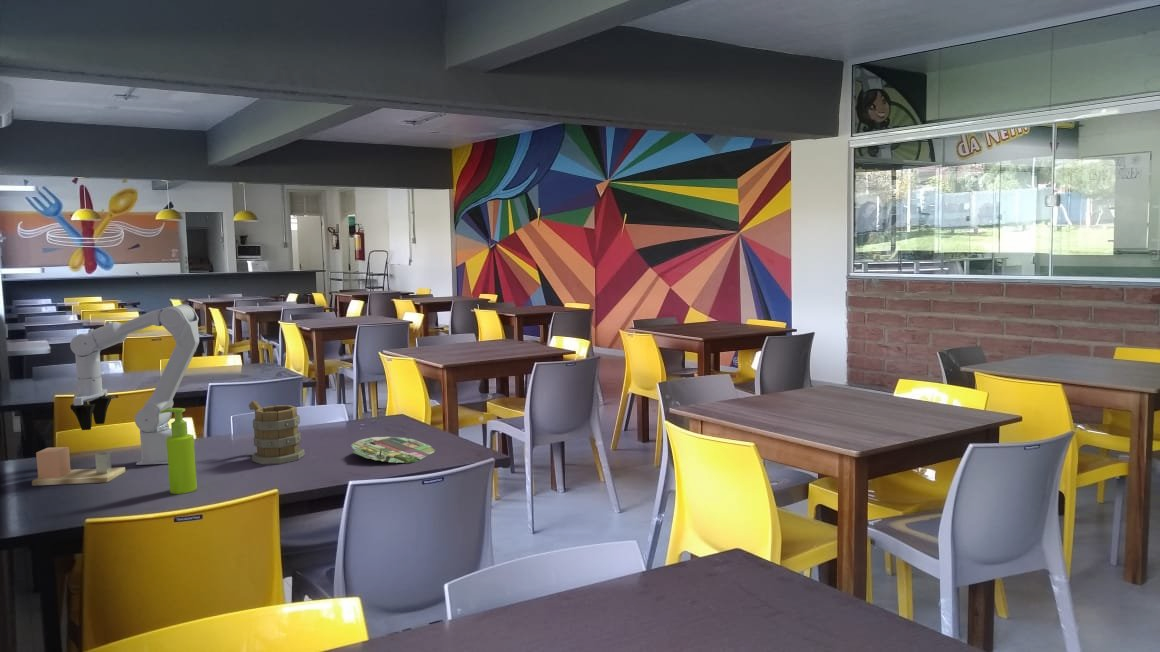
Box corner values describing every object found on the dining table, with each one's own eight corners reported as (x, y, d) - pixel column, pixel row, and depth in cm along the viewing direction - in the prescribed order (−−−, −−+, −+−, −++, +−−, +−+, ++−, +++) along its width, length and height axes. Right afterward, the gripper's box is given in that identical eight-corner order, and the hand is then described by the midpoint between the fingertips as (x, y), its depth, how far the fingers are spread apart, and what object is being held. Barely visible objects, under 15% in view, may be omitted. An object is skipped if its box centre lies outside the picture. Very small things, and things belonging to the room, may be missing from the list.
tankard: (311, 457, 230) (308, 404, 229) (267, 466, 221) (264, 411, 219) (276, 446, 244) (273, 396, 242) (234, 455, 234) (230, 402, 233)
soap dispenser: (171, 487, 203) (165, 406, 201) (200, 486, 204) (195, 405, 202) (161, 494, 197) (155, 411, 195) (191, 493, 198) (185, 410, 196)
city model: (415, 477, 216) (417, 454, 215) (332, 463, 220) (334, 441, 220) (449, 454, 240) (451, 434, 240) (374, 443, 245) (375, 422, 244)
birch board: (125, 471, 219) (125, 467, 219) (107, 482, 209) (107, 477, 209) (53, 474, 218) (53, 470, 218) (32, 485, 208) (31, 480, 208)
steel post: (111, 471, 215) (110, 452, 215) (107, 473, 213) (105, 454, 212) (101, 471, 215) (99, 452, 215) (96, 474, 213) (94, 455, 212)
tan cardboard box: (70, 471, 216) (68, 446, 215) (59, 477, 210) (57, 451, 210) (49, 472, 215) (47, 447, 215) (38, 478, 210) (36, 452, 209)
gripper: (87, 374, 233) (91, 421, 234) (59, 382, 218) (63, 433, 220) (113, 373, 233) (117, 420, 235) (87, 381, 219) (91, 432, 220)
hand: (93, 426), depth 227 cm, fingers open, 7 cm apart
